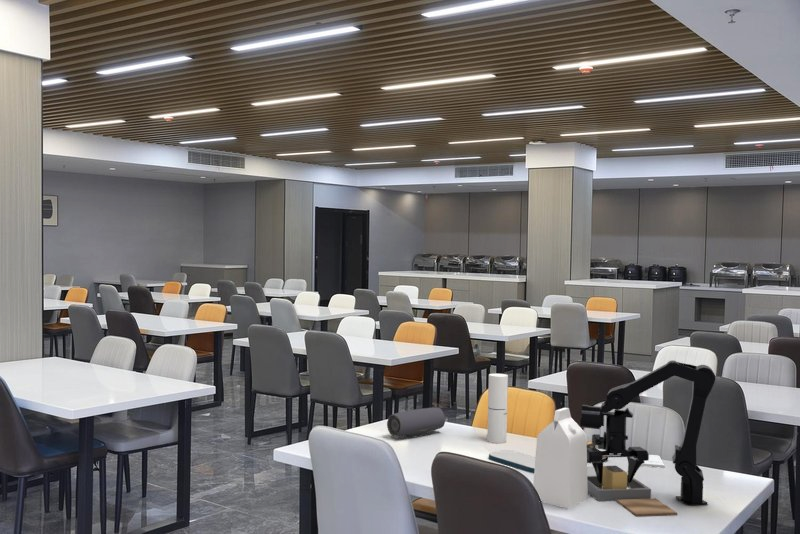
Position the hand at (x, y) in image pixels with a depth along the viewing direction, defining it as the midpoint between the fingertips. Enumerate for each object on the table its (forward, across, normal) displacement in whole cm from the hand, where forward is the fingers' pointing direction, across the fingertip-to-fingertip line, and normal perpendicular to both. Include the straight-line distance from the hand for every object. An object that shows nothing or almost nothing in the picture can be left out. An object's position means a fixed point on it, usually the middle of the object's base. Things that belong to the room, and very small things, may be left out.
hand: (614, 482), depth 220 cm
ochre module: (+3, 0, 0) cm, 3 cm away
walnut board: (+3, -3, +14) cm, 15 cm away
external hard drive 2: (+4, -27, -30) cm, 41 cm away
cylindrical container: (+3, +18, -62) cm, 65 cm away
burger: (+3, -8, -36) cm, 37 cm away
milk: (+3, +19, +4) cm, 19 cm away
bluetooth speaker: (+3, +47, -73) cm, 87 cm away
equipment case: (+3, 0, -7) cm, 8 cm away
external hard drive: (+4, +18, -32) cm, 37 cm away
